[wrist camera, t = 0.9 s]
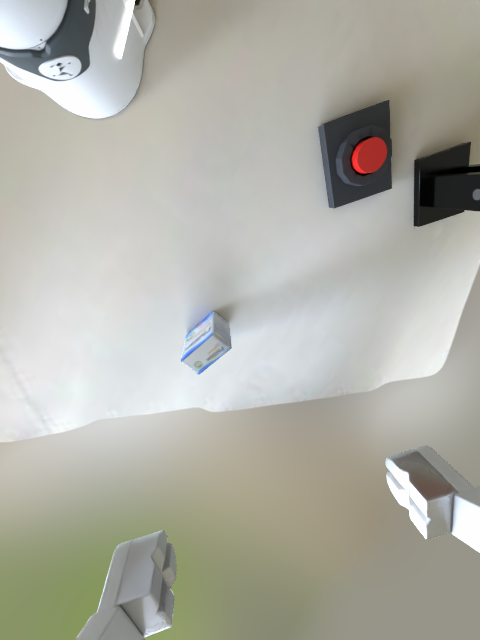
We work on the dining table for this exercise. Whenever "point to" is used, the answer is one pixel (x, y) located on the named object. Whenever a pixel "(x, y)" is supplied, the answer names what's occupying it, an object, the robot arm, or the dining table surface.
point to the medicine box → (206, 343)
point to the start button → (369, 155)
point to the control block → (340, 145)
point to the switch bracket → (445, 185)
